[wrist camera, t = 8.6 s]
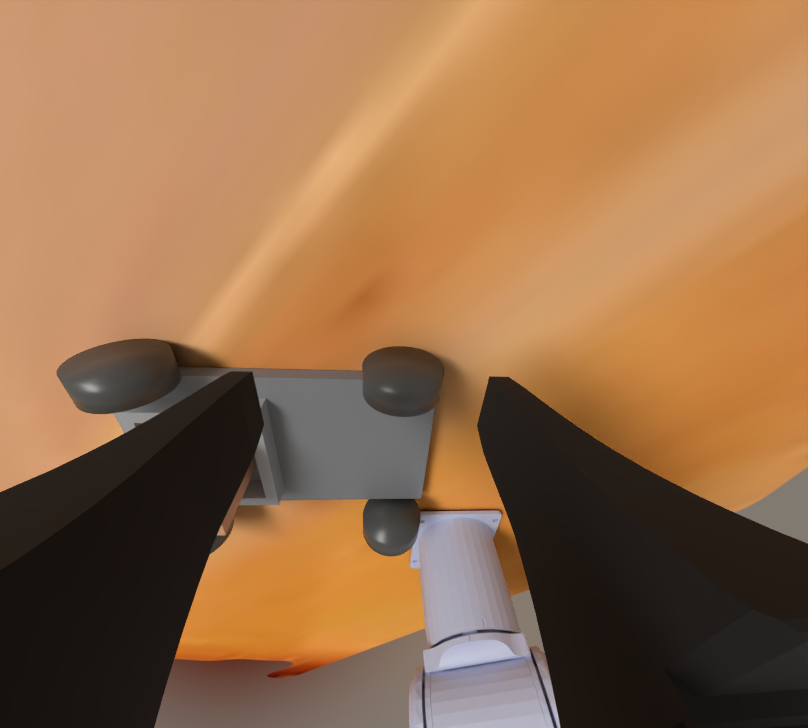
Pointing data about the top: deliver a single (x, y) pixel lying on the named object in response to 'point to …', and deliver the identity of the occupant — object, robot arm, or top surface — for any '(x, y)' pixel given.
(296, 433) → the chassis
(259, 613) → the top surface
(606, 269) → the top surface
